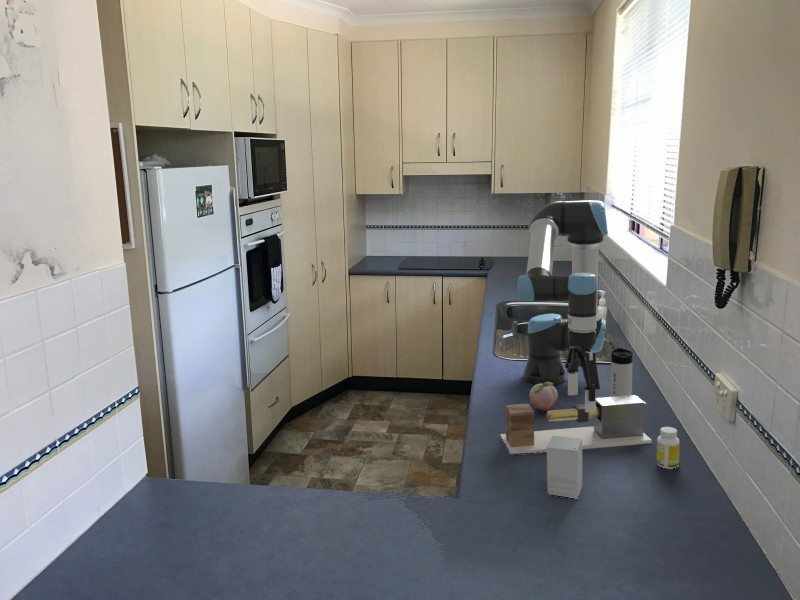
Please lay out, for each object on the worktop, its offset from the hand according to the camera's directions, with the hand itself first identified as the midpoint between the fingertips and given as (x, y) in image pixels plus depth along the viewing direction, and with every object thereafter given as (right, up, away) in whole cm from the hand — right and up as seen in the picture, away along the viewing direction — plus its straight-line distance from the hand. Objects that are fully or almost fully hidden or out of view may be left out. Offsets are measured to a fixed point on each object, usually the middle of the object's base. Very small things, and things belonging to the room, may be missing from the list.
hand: (581, 402), depth 183 cm
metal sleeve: (+12, -9, +3) cm, 15 cm away
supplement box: (-11, -18, -25) cm, 32 cm away
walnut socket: (-17, -12, +1) cm, 21 cm away
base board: (-1, -11, +3) cm, 11 cm away
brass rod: (+4, -5, +2) cm, 6 cm away
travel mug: (+18, -6, +21) cm, 28 cm away
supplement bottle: (+18, -14, -15) cm, 27 cm away
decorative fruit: (-5, -7, +25) cm, 26 cm away
